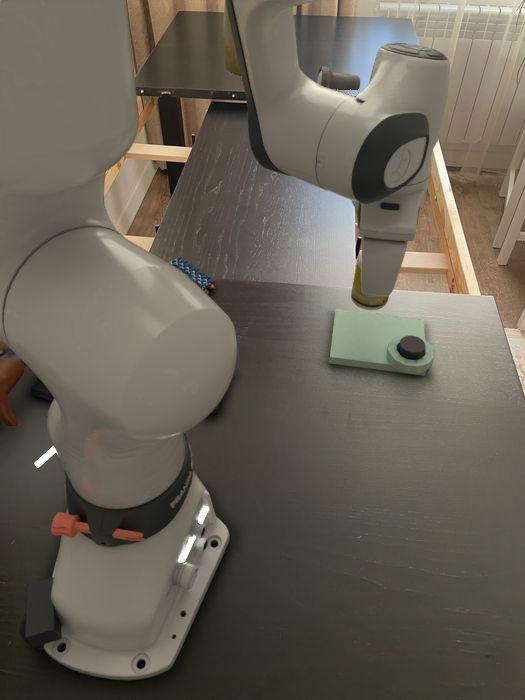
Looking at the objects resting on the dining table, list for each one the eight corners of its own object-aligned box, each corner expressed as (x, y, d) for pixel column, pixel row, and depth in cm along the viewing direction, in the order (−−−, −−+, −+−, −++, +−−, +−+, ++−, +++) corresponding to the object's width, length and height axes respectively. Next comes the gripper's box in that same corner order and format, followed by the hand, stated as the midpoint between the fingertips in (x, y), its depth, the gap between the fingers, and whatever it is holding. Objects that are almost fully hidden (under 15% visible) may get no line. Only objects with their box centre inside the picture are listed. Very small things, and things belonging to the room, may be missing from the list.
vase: (213, 78, 165) (207, -27, 146) (249, 64, 174) (248, -36, 155) (255, 92, 157) (255, -18, 138) (291, 76, 167) (295, -28, 147)
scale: (430, 382, 77) (435, 368, 75) (328, 369, 79) (330, 355, 77) (426, 326, 85) (431, 312, 83) (334, 315, 87) (336, 301, 85)
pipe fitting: (321, 68, 146) (316, 63, 154) (317, 100, 150) (312, 93, 159) (364, 72, 147) (356, 67, 155) (358, 104, 151) (351, 97, 160)
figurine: (62, 431, 65) (156, 285, 86) (6, 373, 59) (121, 232, 80) (-43, 442, 74) (65, 308, 95) (-100, 394, 68) (28, 262, 89)
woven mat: (131, 289, 92) (129, 279, 90) (180, 263, 97) (178, 254, 96) (168, 317, 86) (167, 308, 85) (217, 289, 92) (217, 279, 90)
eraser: (94, 408, 71) (97, 416, 72) (109, 385, 74) (112, 393, 75) (23, 387, 74) (27, 395, 75) (40, 366, 76) (44, 375, 78)
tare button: (423, 361, 76) (426, 354, 75) (398, 358, 77) (400, 351, 76) (422, 344, 79) (425, 336, 78) (398, 341, 79) (400, 333, 78)
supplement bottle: (387, 313, 76) (400, 256, 69) (349, 308, 77) (358, 251, 70) (388, 290, 80) (401, 234, 73) (352, 285, 80) (361, 229, 73)
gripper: (366, 151, 73) (354, 237, 83) (359, 232, 59) (345, 324, 69) (413, 154, 73) (395, 241, 82) (417, 237, 58) (394, 330, 68)
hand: (372, 279), depth 76 cm, fingers closed on supplement bottle, 5 cm apart
